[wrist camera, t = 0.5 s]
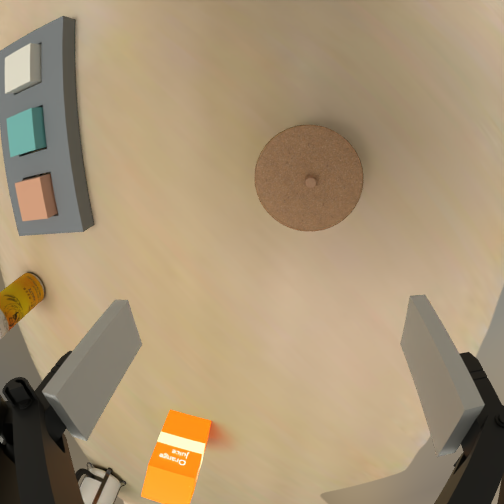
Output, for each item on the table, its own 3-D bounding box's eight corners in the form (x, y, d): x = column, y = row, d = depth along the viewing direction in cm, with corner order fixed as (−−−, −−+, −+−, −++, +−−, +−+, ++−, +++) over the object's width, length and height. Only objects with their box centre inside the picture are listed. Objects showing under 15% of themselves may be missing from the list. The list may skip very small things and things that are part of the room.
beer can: (48, 303, 52) (1, 348, 38) (27, 294, 52) (-20, 335, 38) (44, 275, 49) (-9, 319, 36) (22, 267, 49) (-30, 307, 36)
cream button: (17, 58, 32) (4, 57, 29) (43, 44, 31) (30, 43, 28) (18, 92, 34) (5, 93, 32) (43, 81, 33) (30, 81, 31)
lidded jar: (308, 105, 34) (314, 101, 26) (367, 173, 37) (389, 189, 28) (243, 165, 38) (228, 179, 30) (302, 227, 40) (304, 258, 32)
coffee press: (133, 478, 79) (105, 550, 52) (119, 486, 85) (94, 548, 58) (86, 452, 77) (51, 522, 49) (78, 462, 83) (47, 523, 55)
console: (10, 52, 33) (-2, 52, 31) (75, 19, 31) (63, 15, 29) (30, 229, 46) (19, 235, 43) (94, 224, 44) (83, 231, 41)
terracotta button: (27, 178, 40) (14, 183, 37) (52, 172, 39) (39, 177, 36) (34, 215, 42) (22, 221, 39) (60, 212, 41) (47, 218, 38)
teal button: (19, 116, 36) (6, 118, 33) (45, 106, 35) (31, 107, 32) (23, 153, 38) (10, 157, 35) (48, 146, 37) (35, 149, 35)
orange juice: (208, 438, 61) (187, 515, 43) (169, 428, 62) (142, 502, 43) (211, 420, 58) (188, 504, 40) (169, 408, 58) (138, 488, 40)
